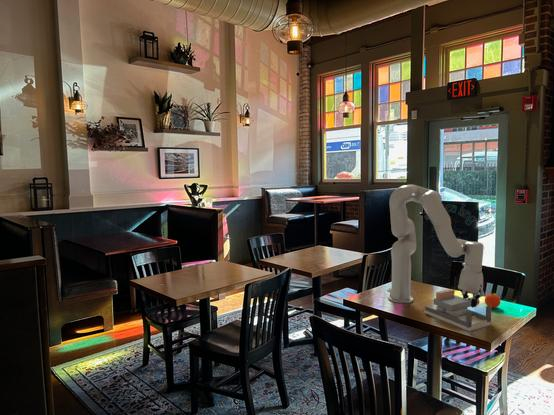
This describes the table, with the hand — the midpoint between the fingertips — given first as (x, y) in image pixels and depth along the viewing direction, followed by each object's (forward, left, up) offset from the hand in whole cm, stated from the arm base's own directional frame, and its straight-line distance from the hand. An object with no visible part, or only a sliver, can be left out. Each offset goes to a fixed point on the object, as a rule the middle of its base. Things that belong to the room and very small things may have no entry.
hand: (469, 304), depth 196 cm
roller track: (+3, -13, -4) cm, 13 cm away
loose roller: (0, 0, -1) cm, 1 cm away
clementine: (+1, +16, -4) cm, 17 cm away
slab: (0, -13, +2) cm, 13 cm away
